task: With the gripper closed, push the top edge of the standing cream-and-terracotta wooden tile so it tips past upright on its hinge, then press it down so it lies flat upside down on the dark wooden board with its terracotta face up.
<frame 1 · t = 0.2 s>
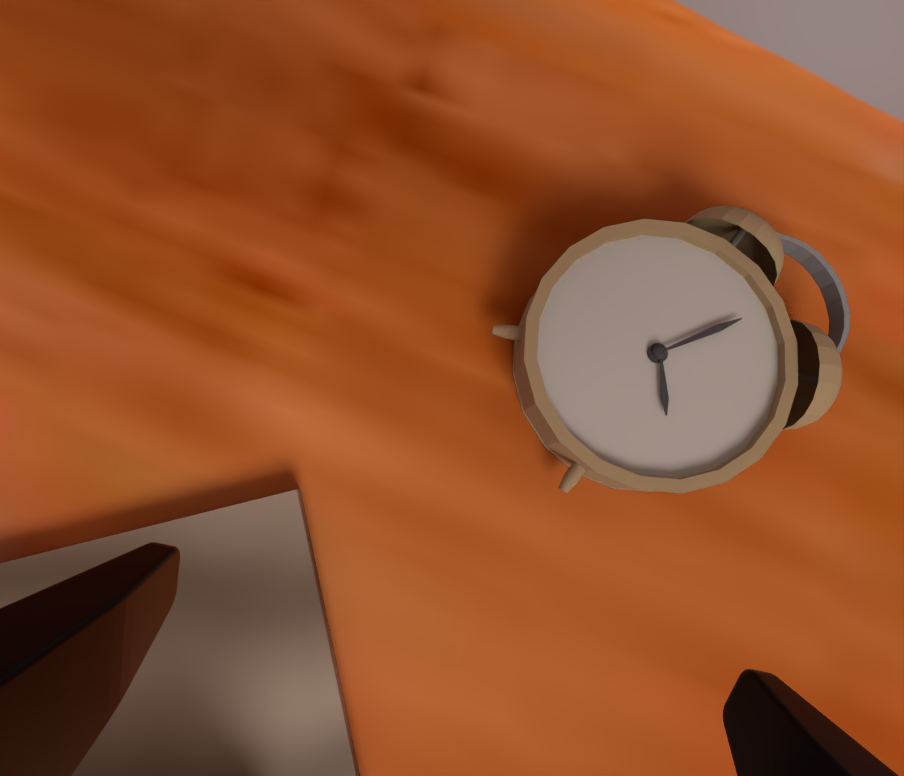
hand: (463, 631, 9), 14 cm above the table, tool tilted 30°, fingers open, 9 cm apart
alarm clock: (658, 356, 26), on the table
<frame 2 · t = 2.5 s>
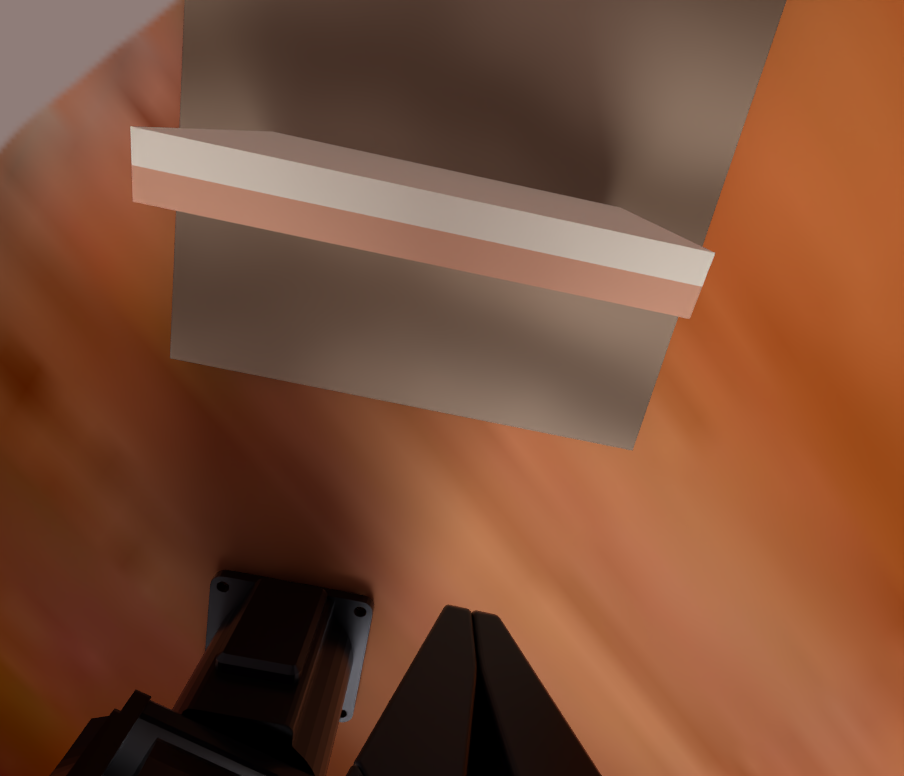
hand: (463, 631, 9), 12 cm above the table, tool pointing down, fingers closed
tile: (436, 205, 13), point 5 cm above the table, hinge at 85.0°
board: (459, 123, 17), on the table
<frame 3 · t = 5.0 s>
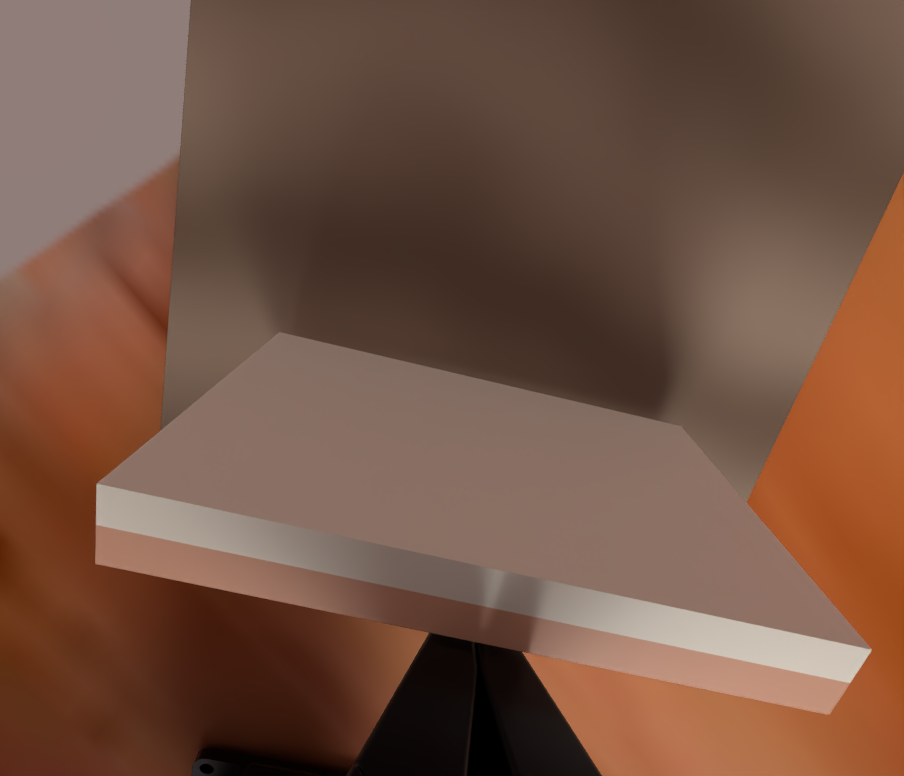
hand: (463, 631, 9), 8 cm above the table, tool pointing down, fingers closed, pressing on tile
tile: (481, 472, 11), point 5 cm above the table, hinge at 88.8°, touching gripper
board: (495, 308, 15), on the table
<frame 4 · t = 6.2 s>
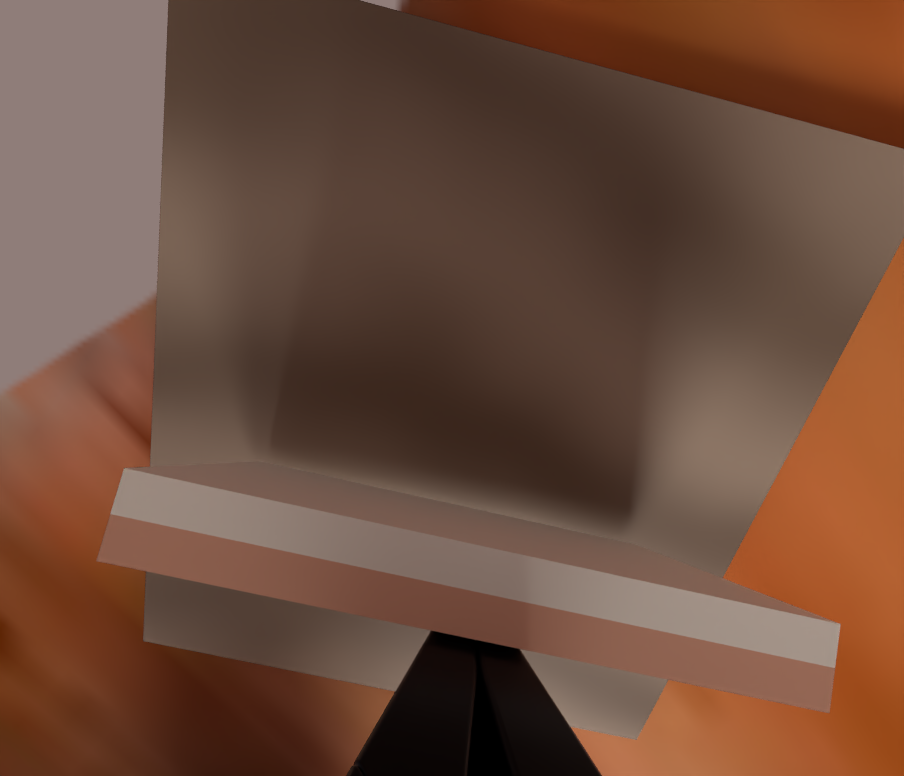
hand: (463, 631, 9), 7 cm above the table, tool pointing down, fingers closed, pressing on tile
tile: (460, 549, 11), point 5 cm above the table, hinge at 119.5°, touching gripper
board: (465, 430, 15), on the table
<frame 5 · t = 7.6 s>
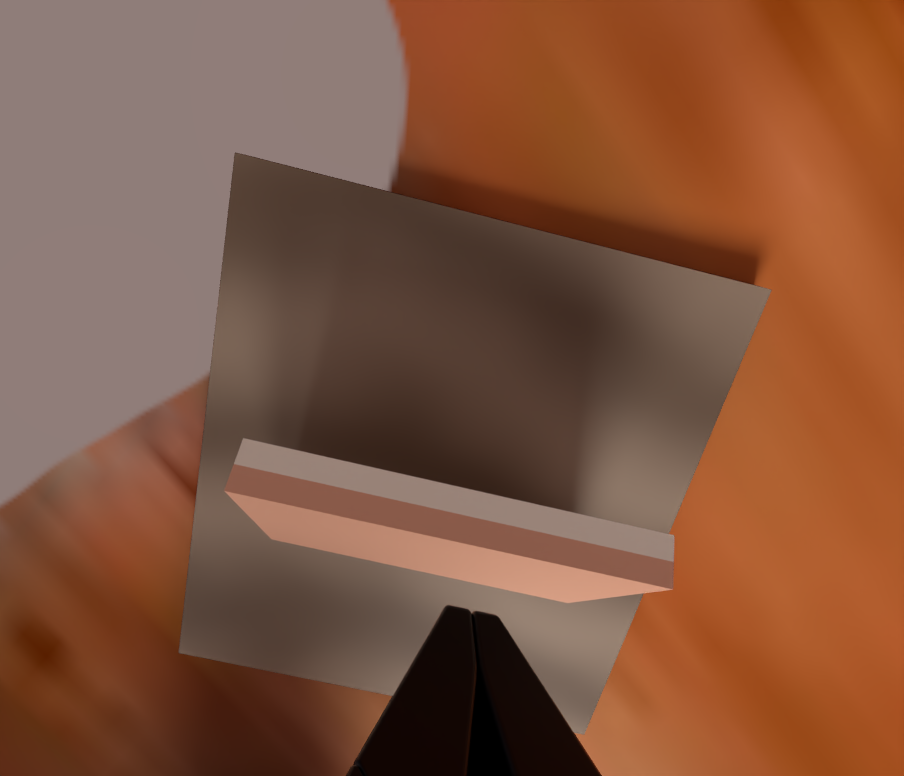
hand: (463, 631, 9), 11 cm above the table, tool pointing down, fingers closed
tile: (438, 537, 16), point 4 cm above the table, hinge at 132.4°
board: (440, 479, 20), on the table
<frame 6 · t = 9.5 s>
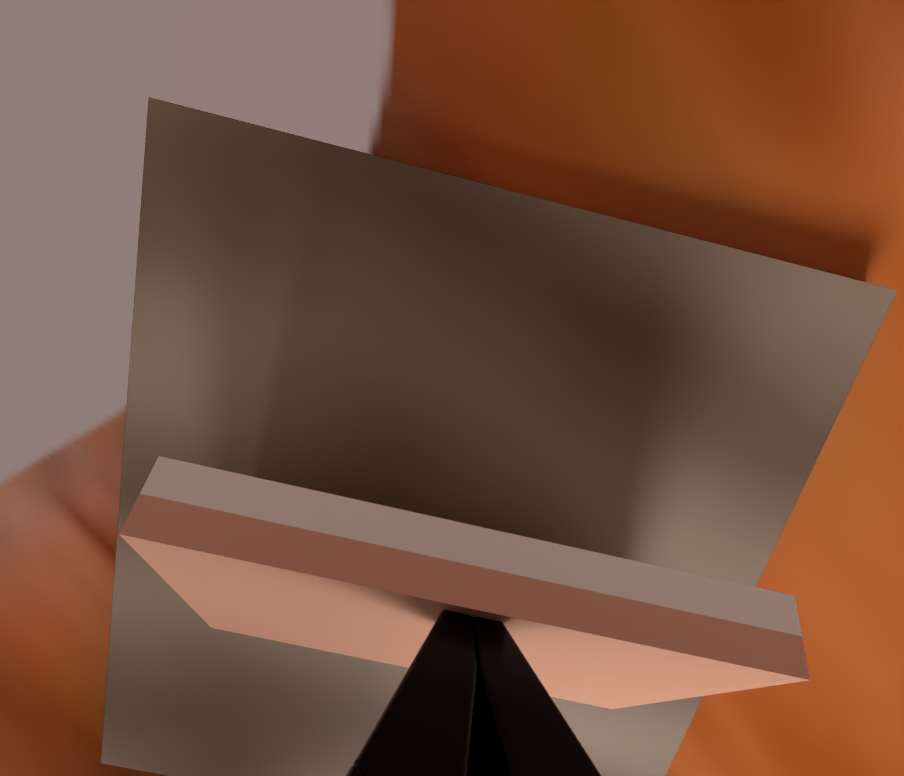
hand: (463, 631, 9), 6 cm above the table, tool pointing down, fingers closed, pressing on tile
tile: (443, 615, 11), point 4 cm above the table, hinge at 141.2°, touching gripper
board: (440, 540, 15), on the table
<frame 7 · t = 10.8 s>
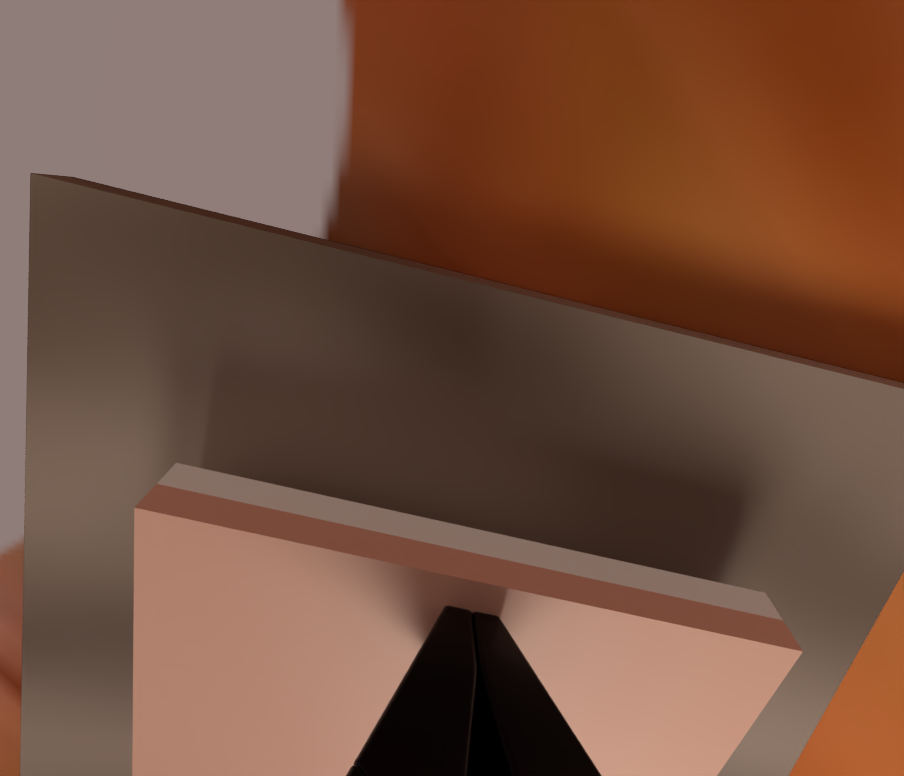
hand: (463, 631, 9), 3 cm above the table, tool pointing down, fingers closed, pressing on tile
tile: (431, 703, 10), point 2 cm above the table, hinge at 173.2°, touching gripper
board: (418, 683, 13), on the table
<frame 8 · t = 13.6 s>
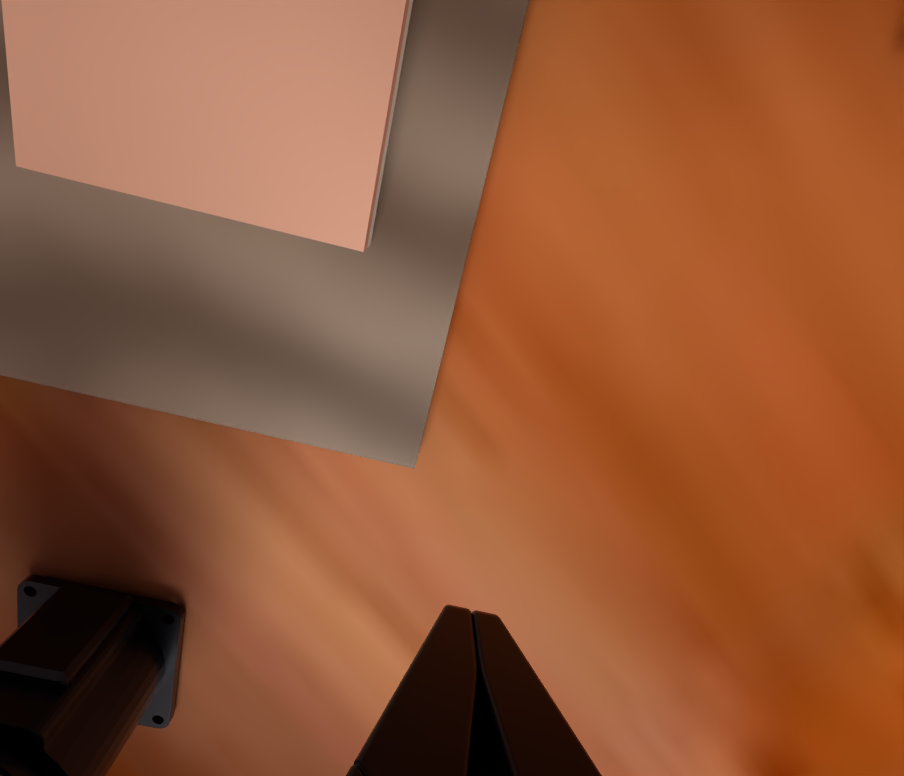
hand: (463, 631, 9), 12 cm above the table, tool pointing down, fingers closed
tile: (208, 76, 15), point 2 cm above the table, hinge at 173.4°
board: (230, 148, 18), on the table
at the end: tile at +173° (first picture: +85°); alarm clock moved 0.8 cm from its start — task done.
